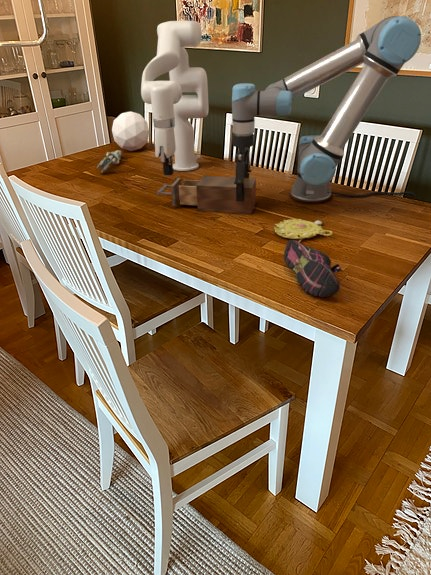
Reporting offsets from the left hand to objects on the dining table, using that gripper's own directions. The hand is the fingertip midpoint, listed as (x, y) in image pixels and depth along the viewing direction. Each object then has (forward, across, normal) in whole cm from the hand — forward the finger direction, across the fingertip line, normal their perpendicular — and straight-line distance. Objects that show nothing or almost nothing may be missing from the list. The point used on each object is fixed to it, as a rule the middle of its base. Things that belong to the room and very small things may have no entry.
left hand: (168, 174), depth 165 cm
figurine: (+12, -43, -44) cm, 62 cm away
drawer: (+11, 0, +9) cm, 14 cm away
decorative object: (+12, +18, +51) cm, 55 cm away
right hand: (+7, 0, +28) cm, 29 cm away
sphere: (+12, -71, -44) cm, 84 cm away
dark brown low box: (+12, 0, +22) cm, 25 cm away
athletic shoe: (+12, +47, +56) cm, 74 cm away
